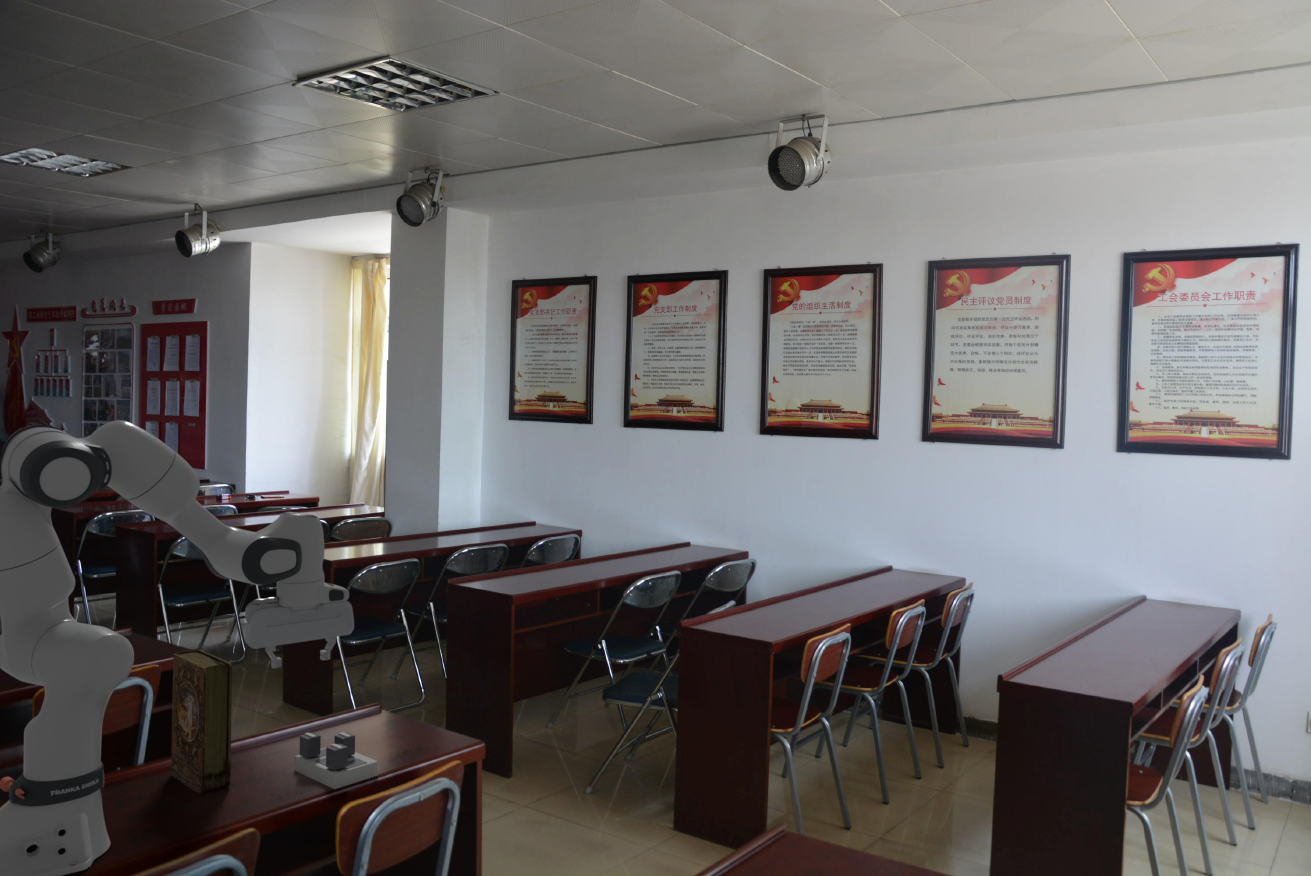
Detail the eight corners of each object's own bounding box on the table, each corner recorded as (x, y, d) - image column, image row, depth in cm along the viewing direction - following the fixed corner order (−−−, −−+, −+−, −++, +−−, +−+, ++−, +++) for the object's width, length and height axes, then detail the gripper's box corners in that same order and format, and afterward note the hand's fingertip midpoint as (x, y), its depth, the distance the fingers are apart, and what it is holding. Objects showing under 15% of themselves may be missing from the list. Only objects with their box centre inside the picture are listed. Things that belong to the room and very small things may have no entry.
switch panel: (334, 789, 190) (334, 773, 190) (294, 770, 199) (294, 755, 199) (377, 775, 197) (377, 760, 197) (336, 757, 207) (337, 743, 207)
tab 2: (334, 770, 191) (334, 749, 191) (325, 766, 193) (326, 745, 193) (347, 766, 193) (347, 745, 193) (339, 762, 195) (339, 742, 195)
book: (168, 773, 196) (170, 652, 195) (195, 766, 200) (198, 648, 199) (201, 796, 185) (204, 668, 184) (230, 788, 189) (232, 663, 188)
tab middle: (342, 757, 198) (342, 737, 198) (334, 754, 200) (334, 734, 200) (354, 754, 200) (355, 734, 200) (346, 750, 202) (347, 730, 202)
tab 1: (307, 758, 197) (307, 737, 197) (299, 754, 199) (299, 734, 199) (320, 754, 199) (320, 734, 199) (312, 751, 201) (312, 731, 201)
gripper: (249, 603, 177) (250, 676, 178) (357, 590, 190) (357, 658, 191) (240, 597, 182) (241, 668, 183) (345, 585, 195) (345, 651, 196)
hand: (301, 663), depth 187 cm, fingers open, 8 cm apart
